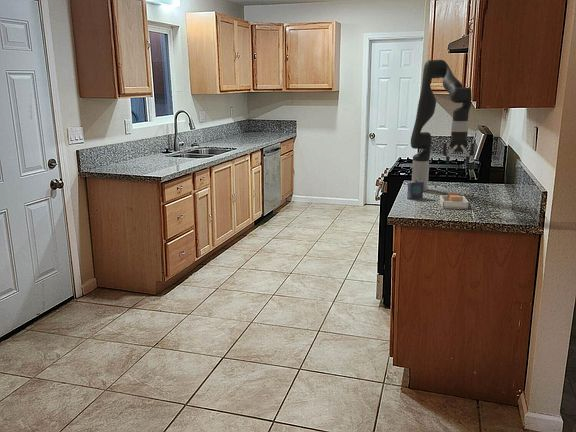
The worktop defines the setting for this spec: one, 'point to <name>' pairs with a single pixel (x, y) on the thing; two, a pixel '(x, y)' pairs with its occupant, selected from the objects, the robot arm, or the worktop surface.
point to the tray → (453, 203)
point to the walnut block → (451, 194)
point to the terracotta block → (454, 198)
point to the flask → (415, 189)
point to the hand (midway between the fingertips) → (457, 164)
